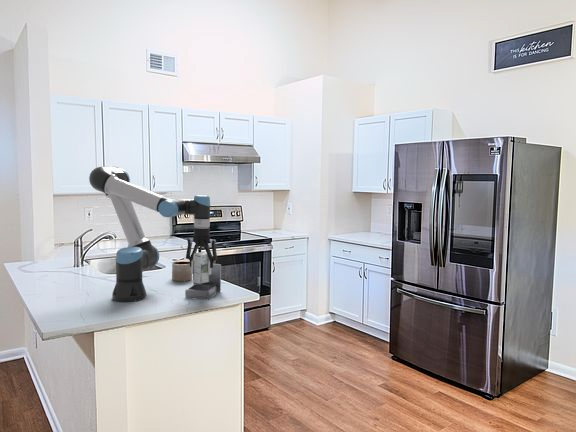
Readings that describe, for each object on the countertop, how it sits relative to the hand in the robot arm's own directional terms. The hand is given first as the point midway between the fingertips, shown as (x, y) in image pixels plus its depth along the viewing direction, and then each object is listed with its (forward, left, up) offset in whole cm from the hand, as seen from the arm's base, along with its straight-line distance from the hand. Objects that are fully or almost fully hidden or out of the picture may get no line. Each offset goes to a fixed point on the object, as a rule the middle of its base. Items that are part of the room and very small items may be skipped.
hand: (201, 273), depth 222 cm
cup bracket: (0, +2, -11) cm, 11 cm away
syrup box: (0, 0, -4) cm, 4 cm away
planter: (-21, +29, -11) cm, 37 cm away
